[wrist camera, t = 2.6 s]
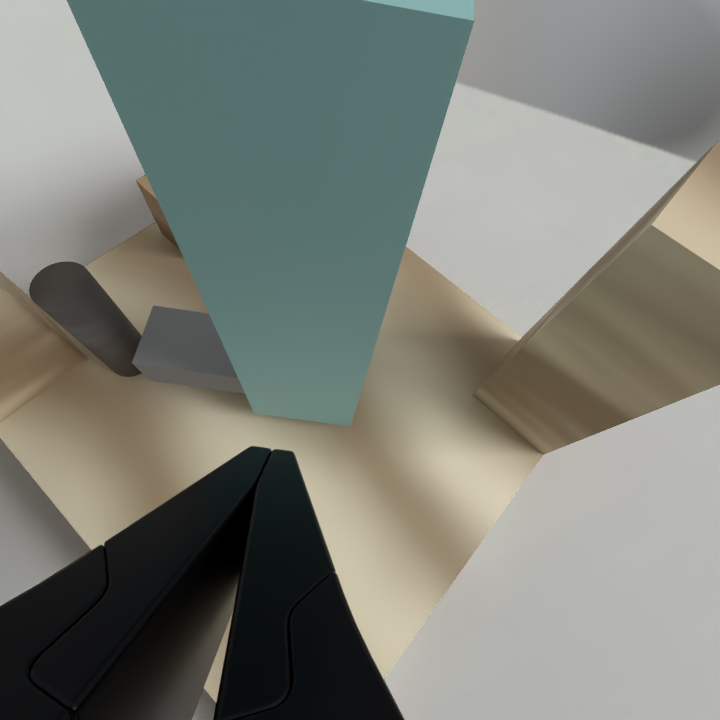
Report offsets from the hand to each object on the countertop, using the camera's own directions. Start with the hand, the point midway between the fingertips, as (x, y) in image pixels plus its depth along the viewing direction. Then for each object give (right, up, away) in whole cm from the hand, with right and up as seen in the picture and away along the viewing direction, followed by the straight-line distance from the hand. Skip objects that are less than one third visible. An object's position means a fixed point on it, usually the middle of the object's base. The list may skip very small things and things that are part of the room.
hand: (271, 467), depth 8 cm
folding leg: (-2, +2, +8) cm, 8 cm away
